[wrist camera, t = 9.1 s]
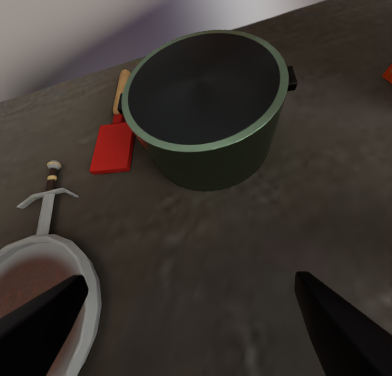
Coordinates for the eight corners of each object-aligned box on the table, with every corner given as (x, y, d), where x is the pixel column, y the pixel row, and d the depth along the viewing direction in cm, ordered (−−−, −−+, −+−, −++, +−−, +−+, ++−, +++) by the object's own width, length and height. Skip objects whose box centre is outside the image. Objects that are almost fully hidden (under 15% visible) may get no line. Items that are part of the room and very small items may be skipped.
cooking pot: (289, 185, 22) (322, 138, 14) (141, 196, 24) (98, 161, 16) (267, 85, 28) (281, 14, 20) (151, 102, 31) (124, 45, 23)
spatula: (114, 79, 35) (109, 69, 33) (143, 74, 34) (139, 64, 32) (93, 174, 27) (84, 168, 25) (129, 171, 26) (123, 164, 24)
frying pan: (103, 141, 26) (81, 446, 14) (115, 153, 28) (105, 418, 16) (-7, 169, 27) (-115, 465, 15) (13, 178, 30) (-65, 437, 18)
